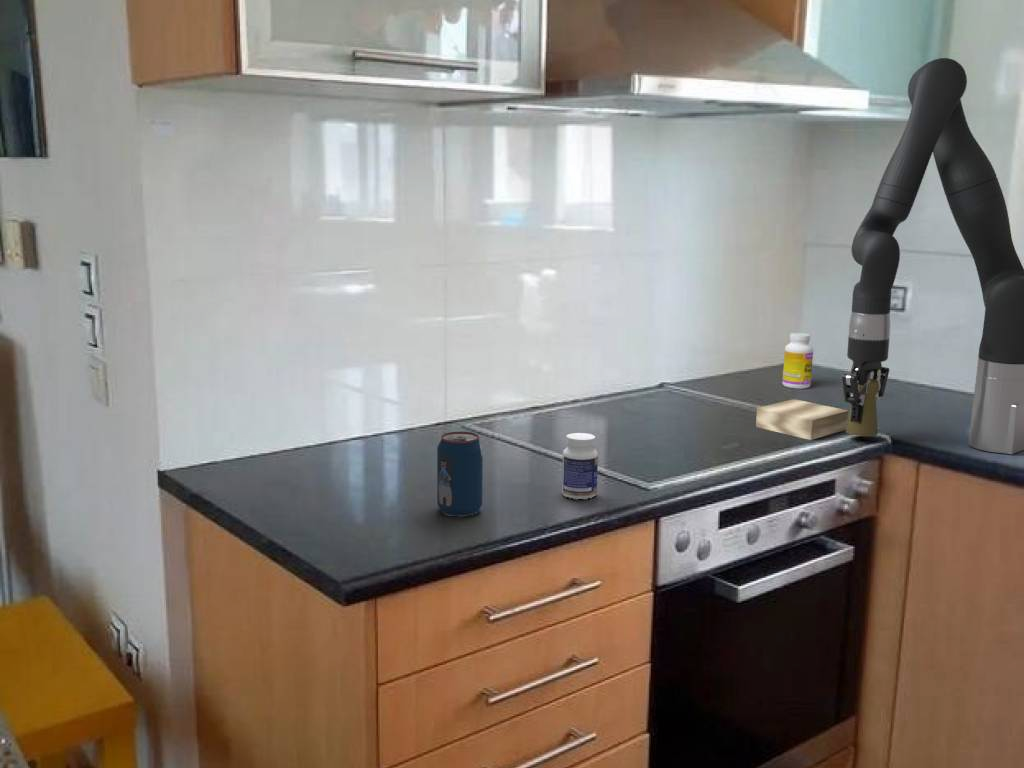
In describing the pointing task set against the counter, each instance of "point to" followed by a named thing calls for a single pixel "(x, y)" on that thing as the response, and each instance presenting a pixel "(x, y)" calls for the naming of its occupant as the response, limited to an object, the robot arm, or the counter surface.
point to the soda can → (459, 473)
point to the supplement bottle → (798, 362)
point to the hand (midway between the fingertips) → (862, 421)
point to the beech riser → (802, 419)
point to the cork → (866, 413)
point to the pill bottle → (580, 466)
